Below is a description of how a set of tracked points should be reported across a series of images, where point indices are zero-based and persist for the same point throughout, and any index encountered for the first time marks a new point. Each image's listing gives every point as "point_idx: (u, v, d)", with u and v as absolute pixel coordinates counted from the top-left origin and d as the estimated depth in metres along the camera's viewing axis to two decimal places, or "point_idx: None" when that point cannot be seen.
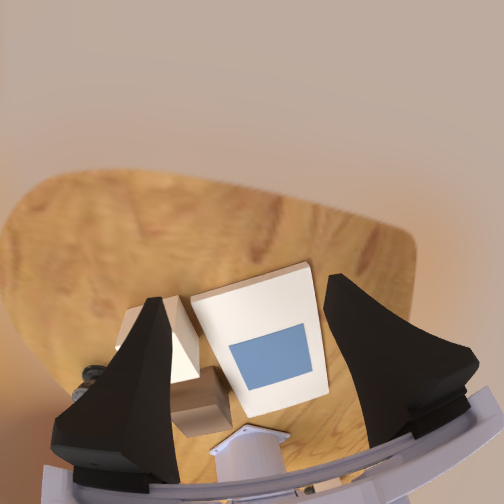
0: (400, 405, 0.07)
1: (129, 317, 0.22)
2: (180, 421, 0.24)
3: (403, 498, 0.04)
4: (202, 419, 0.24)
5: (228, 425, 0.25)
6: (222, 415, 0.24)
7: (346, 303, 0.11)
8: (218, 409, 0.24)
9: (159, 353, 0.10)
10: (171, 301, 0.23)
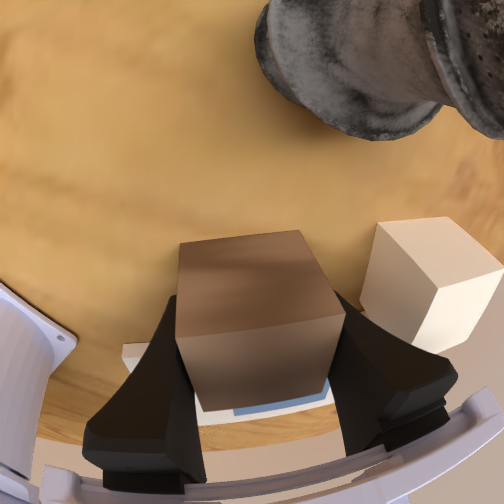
0: (371, 416, 0.07)
1: None
2: (289, 339, 0.09)
3: (403, 498, 0.04)
4: (275, 377, 0.10)
5: (225, 408, 0.11)
6: (274, 401, 0.11)
7: None
8: (301, 396, 0.11)
9: None
10: None
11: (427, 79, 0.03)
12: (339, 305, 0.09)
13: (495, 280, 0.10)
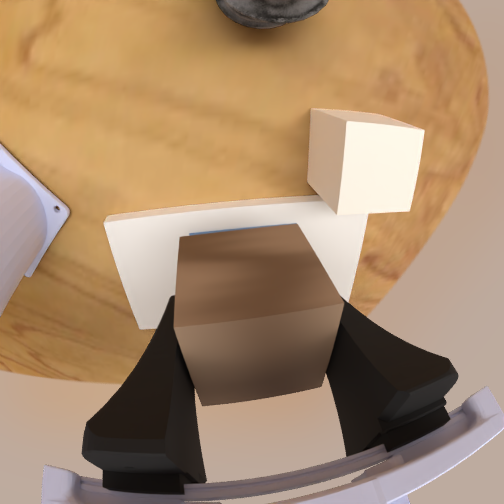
0: (372, 416, 0.07)
1: None
2: (288, 330, 0.09)
3: (403, 498, 0.04)
4: (274, 369, 0.10)
5: (224, 402, 0.11)
6: (274, 395, 0.11)
7: None
8: (300, 390, 0.11)
9: None
10: None
11: None
12: (337, 295, 0.09)
13: (416, 140, 0.13)
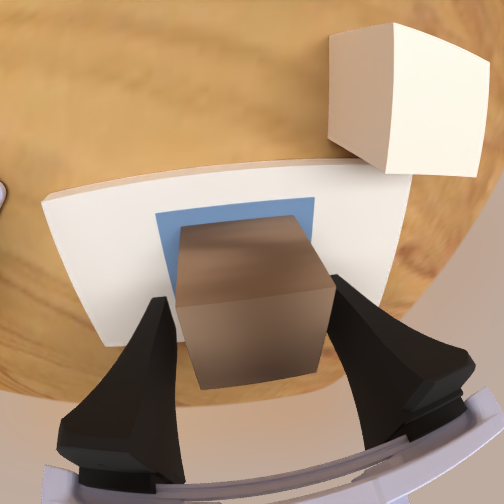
0: (395, 407, 0.07)
1: None
2: (283, 312, 0.09)
3: (403, 498, 0.04)
4: (270, 351, 0.10)
5: (222, 385, 0.11)
6: (270, 379, 0.12)
7: (341, 304, 0.11)
8: (296, 375, 0.12)
9: (164, 352, 0.10)
10: None
11: None
12: (330, 279, 0.09)
13: (482, 73, 0.06)
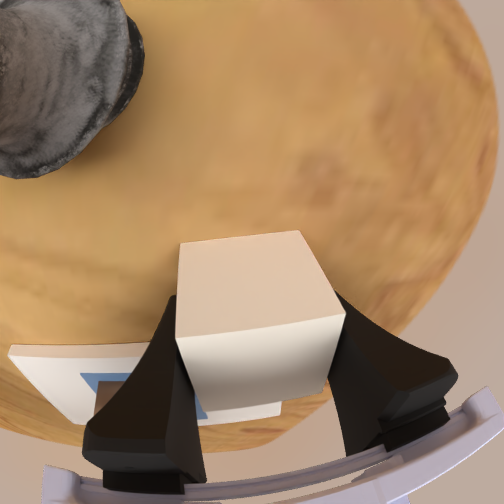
0: (371, 416, 0.07)
1: None
2: None
3: (403, 498, 0.04)
4: None
5: None
6: None
7: None
8: None
9: None
10: None
11: None
12: None
13: (327, 329, 0.09)
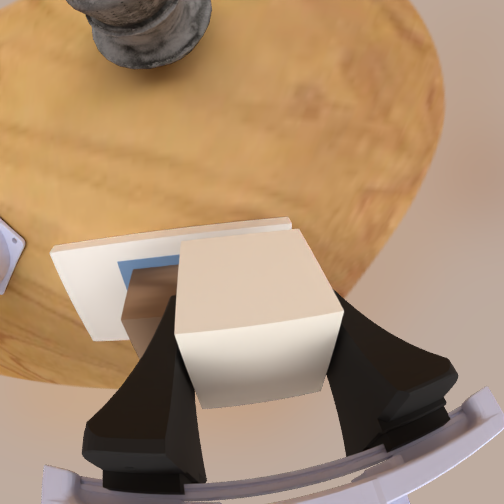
0: (371, 416, 0.07)
1: None
2: None
3: (403, 498, 0.04)
4: None
5: None
6: None
7: None
8: None
9: None
10: None
11: None
12: None
13: (326, 327, 0.09)
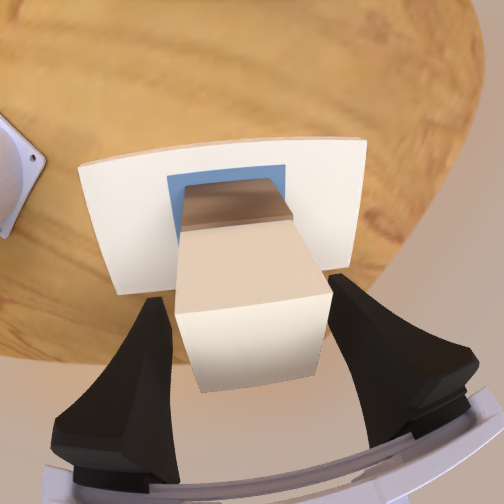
0: (400, 405, 0.07)
1: None
2: None
3: (403, 498, 0.04)
4: None
5: None
6: None
7: (346, 303, 0.11)
8: None
9: (159, 353, 0.10)
10: None
11: None
12: (289, 211, 0.13)
13: (316, 308, 0.09)
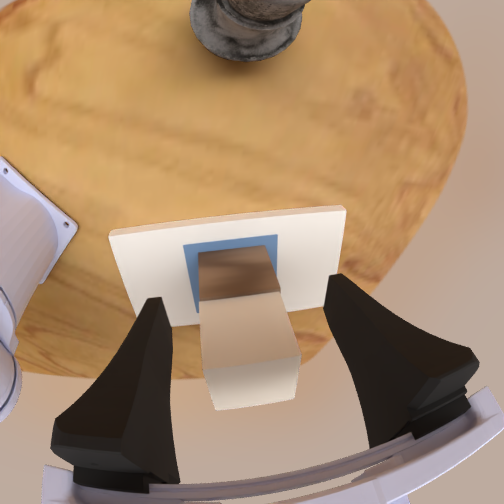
0: (400, 405, 0.07)
1: None
2: None
3: (403, 498, 0.04)
4: None
5: None
6: None
7: (346, 303, 0.11)
8: None
9: (159, 352, 0.10)
10: None
11: None
12: (278, 284, 0.18)
13: (291, 363, 0.14)
